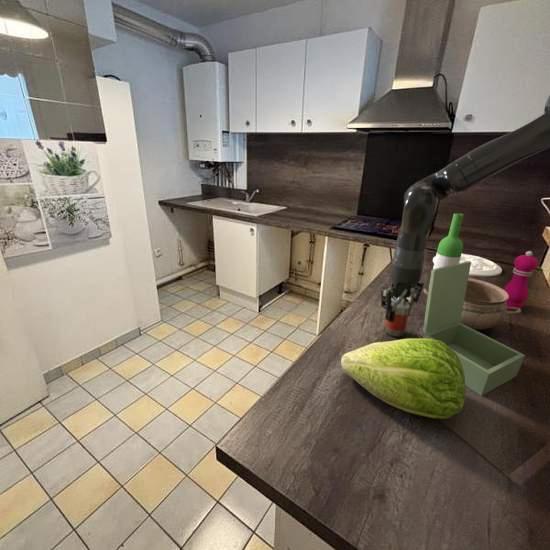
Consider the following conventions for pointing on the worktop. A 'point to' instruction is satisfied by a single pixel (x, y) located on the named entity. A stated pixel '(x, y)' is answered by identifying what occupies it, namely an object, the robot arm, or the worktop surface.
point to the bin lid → (446, 296)
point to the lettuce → (410, 375)
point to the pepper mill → (520, 280)
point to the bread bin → (480, 356)
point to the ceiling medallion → (480, 266)
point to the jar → (398, 320)
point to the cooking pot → (484, 305)
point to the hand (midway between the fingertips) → (397, 317)
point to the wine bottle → (450, 245)
